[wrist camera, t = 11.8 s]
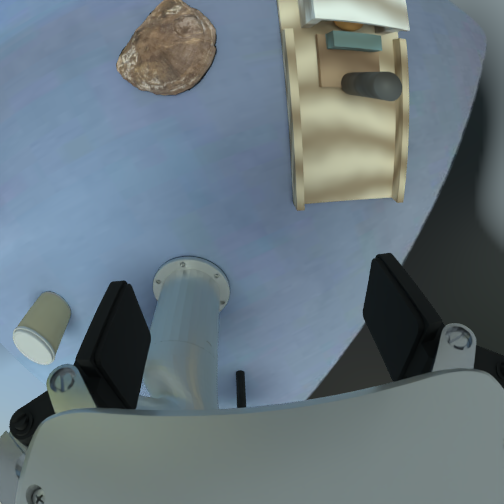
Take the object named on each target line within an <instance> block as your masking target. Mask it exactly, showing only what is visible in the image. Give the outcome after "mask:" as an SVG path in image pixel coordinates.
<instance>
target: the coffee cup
mask: <svg viewBox="0 0 504 504" xmlns="http://www.w3.org/2000/svg"><path fill="white" fill-rule="evenodd" d="M70 316H71V310H70V307H69V305H68V304H67V302H66V301H65V300H64V299H63V298H62V297H61V296H59V295H58V294H56V293H54V292H44V293H42V294H41V296H40V297H39V298H38V299H37V301H36V302H35V303H34V304H33V306H32V307H31V308H30V310H29V311H28V312H27V314H26V315H25V316H24V318H23V319H22V321H21V322H20V323H19V325H18V326H17V327H16V328H15V329H14V332H13V341H14V343H15V345H16V347H17V348H18V349H19V350H20V352H21V353H22V354H24V355H25V356H26V357H27V358H29V359H30V360H32V361H34V362H36V363H38V364H41V365H48V364H50V363H52V362H53V361H54V359H55V355H56V352H57V349H58V347H59V344H60V342H61V339H62V336H63V334H64V331H65V329H66V326H67V324H68V321H69V319H70Z"/></svg>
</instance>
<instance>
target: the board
mask: <svg viewBox="0 0 504 504" xmlns="http://www.w3.org/2000/svg"><path fill="white" fill-rule="evenodd" d="M277 7H278V16H279V24H280V33H281V42H282V51H283V61H284V72H285V83H286V95H287V107H288V121H289V135H290V151H291V169H292V189H293V203H294V205H295V207H296V209H297V211H300V210H305V206H304V204H309V203H321V202H333V201H345V200H359V199H374V198H390V197H391V198H393V199H394V200H395V201H396V202H397V203H400V202H403V199H404V190H405V180H406V169H407V155H408V135H409V77H408V58H407V45H406V39H401V38H398V31H410V30H409V21H408V14H407V7H406V1H405V0H277ZM334 21H341V22H351V23H360V24H364V25H363V26H362V27H361V28H360V29H359V30H356V31H347V32H357V33H365V34H373V35H380V36H381V40H382V51H379V65H380V72H392V73H394V74H396V75H397V76H398V77H399V79H400V81H401V83H402V93H401V96H400V97H399V98H398V99H397V100H395V101H385V100H380V99H374V98H368V97H361V96H355V95H349V94H347V93H345V92H344V91H343V90H342V88H341V87H320V86H319V72H318V60H317V49H316V39H315V35H316V34H327V33H329V32H331V31H333V30H334V31H345V30H342V29H341V28H339V27H338V26H337V25H336V24H335V23H334Z"/></svg>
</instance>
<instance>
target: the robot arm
mask: <svg viewBox="0 0 504 504" xmlns="http://www.w3.org/2000/svg"><path fill="white" fill-rule="evenodd" d="M153 292H154V295H155V298H156V299H157V301H158V302H157V305H156V309H155V313H154V316H153V320H152V324H151V328H150V331H149V329H148V326H147V324H146V321H145V319H144V317H143V314H142V312H141V309H140V307H139V304H138V301H137V299H136V296H135V294H134V291H133V288H132V286H131V285H130V284H127V282H126V281H114V282H111V283H110V285H109V287H108V289H107V291H106V293H105V295H104V297H103V299H102V301H101V303H100V305H99V307H98V309H97V311H96V313H95V315H94V318H93V320H92V322H91V324H90V326H89V329H88V331H87V333H86V335H85V338H84V340H83V342H82V344H81V347H80V349H79V352H78V354H77V356H76V360H75V363H74V365H70V364H64V365H61V366H58V367H57V368H55V369H54V370H53V371H52V372H51V373H50V375H49V377H48V379H47V383H46V385H47V391H46V392H44V393H43V394H41V395H40V396H38V397H37V398H35V399H34V400H32V401H31V402H29V403H28V404H26V405H25V406H23V407H21V408H20V409H18V410H17V411H16V412H15V413H14V414H13V416H12V418H11V420H10V426H9V427H10V432H9V433H8V432H7V431H5V432H4V434H3V435H2V436H1V437H0V502H1V503H2V504H504V356H503V355H500V354H498V353H495V352H493V351H490V350H487V349H485V348H482V347H479V346H477V345H476V338H475V336H474V334H473V332H472V331H471V330H470V329H469V328H467V327H466V326H464V325H461V324H457V323H453V324H449V325H447V326H445V325H444V324H443V322H442V319H441V318H440V316H439V315H438V313H437V312H436V311H435V309H434V308H433V307H432V305H431V304H430V302H429V301H428V300H427V298H426V297H425V296H424V294H423V293H422V292H421V290H420V289H419V288H418V286H417V285H416V284H415V282H414V281H413V280H412V278H411V277H410V276H409V275H408V273H407V272H406V271H405V269H404V268H403V267H402V266H401V264H400V263H399V262H398V261H397V260H396V258H395V257H394V256H393V255H392V254H391V253H386V254H378V255H376V258H375V259H373V260H372V263H371V269H370V275H369V281H368V286H367V292H366V297H365V303H364V308H363V317H364V320H365V322H366V324H367V326H368V328H369V330H370V332H371V334H372V337H373V339H374V341H375V343H376V345H377V347H378V349H379V351H380V354H381V356H382V358H383V360H384V362H385V365H386V367H387V369H388V371H389V373H390V376H391V378H392V380H393V381H394V382H391V383H388V384H384V385H380V386H375V387H371V388H367V389H363V390H358V391H354V392H349V393H344V394H339V395H334V396H328V397H323V398H317V399H311V400H305V401H298V402H291V403H283V404H275V405H266V406H257V407H245V408H232V409H219V407H218V395H217V367H218V333H219V312H220V311H221V310H223V308H224V307H225V306H226V304H227V302H228V300H229V295H230V287H229V282H228V280H227V277H226V276H225V274H224V273H223V272H222V270H220V269H219V268H218V267H217V266H216V265H214V264H213V263H211V262H209V261H207V260H205V259H201V258H197V257H179V258H175V259H172V260H170V261H168V262H166V263H165V264H164V265H162V266H161V267H160V269H159V270H158V271H157V273H156V275H155V278H154V281H153ZM142 378H143V381H144V384H145V386H146V388H147V390H148V392H149V394H150V396H151V397H145V396H141V395H139V393H140V388H141V383H142Z"/></svg>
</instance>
